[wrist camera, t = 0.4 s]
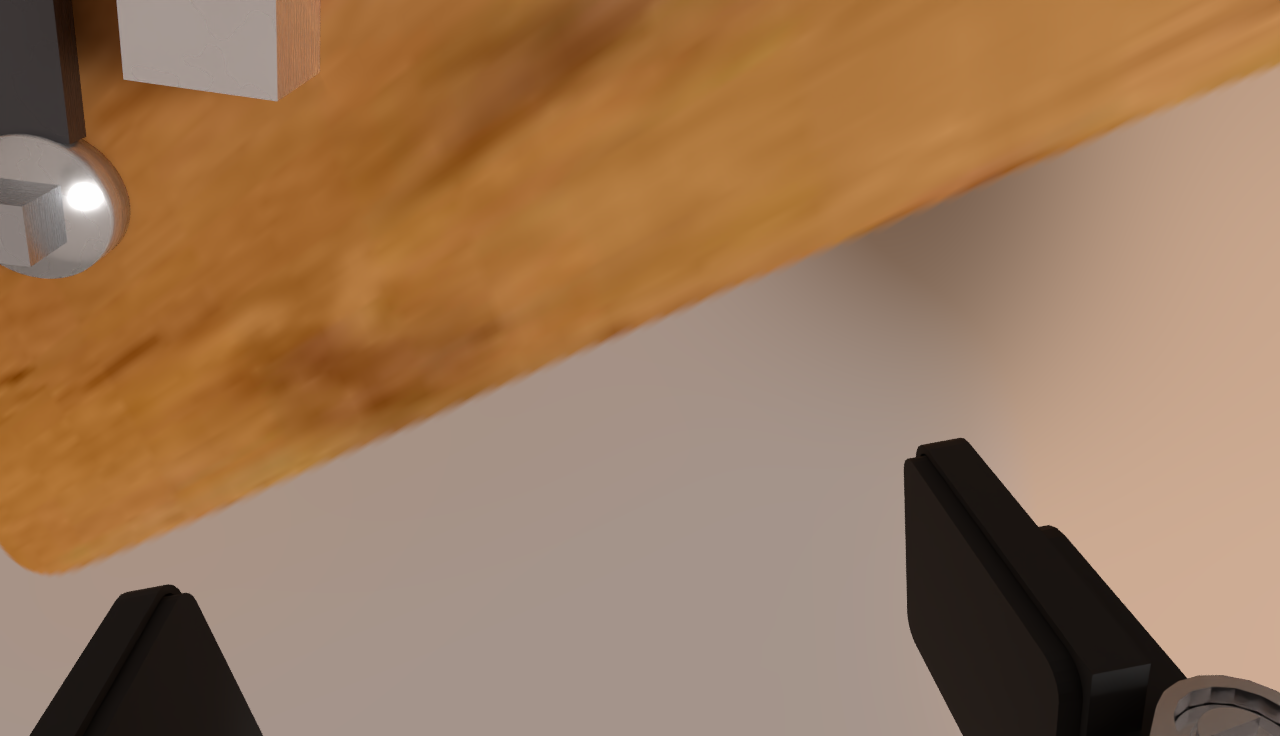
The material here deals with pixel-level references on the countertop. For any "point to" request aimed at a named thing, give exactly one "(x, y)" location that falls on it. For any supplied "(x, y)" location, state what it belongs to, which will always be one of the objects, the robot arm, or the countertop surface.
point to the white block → (221, 44)
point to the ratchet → (50, 150)
